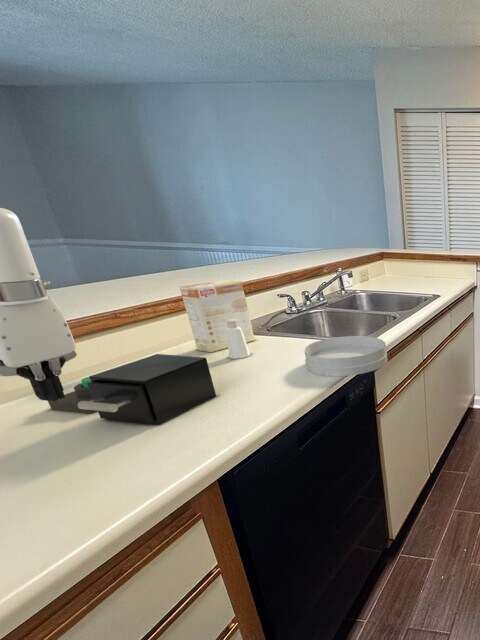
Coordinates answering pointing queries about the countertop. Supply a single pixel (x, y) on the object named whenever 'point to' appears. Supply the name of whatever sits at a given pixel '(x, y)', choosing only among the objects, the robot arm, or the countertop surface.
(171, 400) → the cabinet
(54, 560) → the countertop surface
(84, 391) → the control block
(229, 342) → the salt shaker
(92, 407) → the drawer
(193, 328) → the coffeecake box
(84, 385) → the button
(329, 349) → the dish
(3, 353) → the robot arm
